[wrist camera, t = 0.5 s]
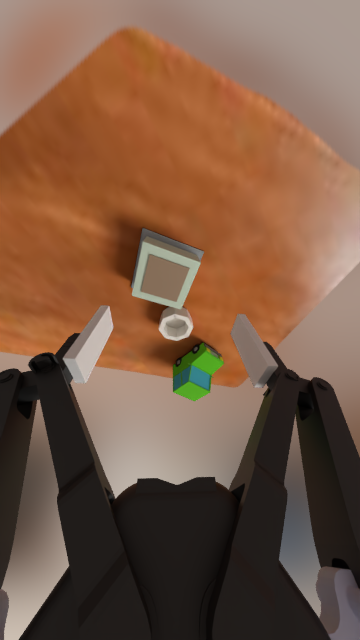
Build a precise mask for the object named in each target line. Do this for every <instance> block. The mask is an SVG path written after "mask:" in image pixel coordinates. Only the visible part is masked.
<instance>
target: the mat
mask: <svg viewBox="0 0 360 640" xmlns="http://www.w3.org/2000/svg"><path fill="white" fill-rule="evenodd" d="M147 236H148V237H151V238H153V239H156V240H159V241H161V242H164V243H166V244H169V245H172V246H174V247H177V248H180V249H182V250H185V251H188V252H190V253H193V254H196V255H197V256H198V258H199V260H201V258H202V255H203V253H204V251H201V250H199V249H196V248H194V247H191V246H188V245H186V244H183V243H181V242H178V241H176V240H173V239H170V238H168V237H165V236H163V235H160V234H157V233H155V232H152V231H150V230H147V229H145V228H143V229H142V234H141V239H140V244H139V249H138V255H137V260H136V265H135V270H134V275H133V281H132V286H131V288H133V287H134V282H135V277H136V273H137V268H138V263H139V258H140V253H141V248H142V243H143V240H144V239H145V238H146V237H147Z"/></svg>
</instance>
